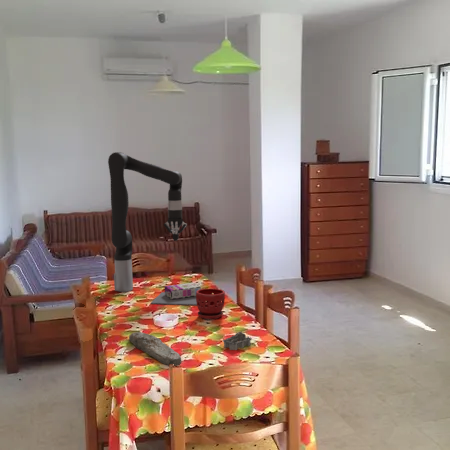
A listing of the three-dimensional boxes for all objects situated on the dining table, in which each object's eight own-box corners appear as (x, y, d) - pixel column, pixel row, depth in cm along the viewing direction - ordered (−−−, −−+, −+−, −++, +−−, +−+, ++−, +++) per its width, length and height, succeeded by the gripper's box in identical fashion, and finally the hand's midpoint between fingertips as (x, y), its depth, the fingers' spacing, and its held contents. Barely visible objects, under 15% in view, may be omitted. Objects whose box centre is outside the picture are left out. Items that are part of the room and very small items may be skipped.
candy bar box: (171, 300, 272) (201, 295, 279) (170, 290, 272) (201, 286, 278) (164, 295, 283) (193, 291, 289) (164, 285, 282) (193, 281, 288)
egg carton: (242, 340, 216) (242, 330, 216) (254, 345, 210) (254, 335, 210) (220, 346, 210) (220, 336, 210) (232, 351, 204) (232, 341, 204)
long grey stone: (164, 373, 189) (188, 367, 195) (164, 359, 188) (189, 354, 194) (122, 340, 217) (144, 336, 223) (122, 328, 216) (144, 324, 222)
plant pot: (222, 321, 239) (221, 295, 238) (193, 320, 242) (192, 294, 240) (227, 312, 252) (227, 287, 250) (200, 311, 255) (199, 286, 253)
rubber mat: (150, 304, 269) (150, 302, 268) (162, 293, 288) (162, 292, 288) (197, 305, 264) (197, 304, 264) (205, 294, 284) (205, 293, 284)
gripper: (160, 209, 284) (161, 241, 287) (185, 209, 282) (185, 242, 284) (165, 207, 291) (166, 239, 294) (188, 208, 289) (189, 239, 291)
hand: (175, 240), depth 289 cm, fingers closed
